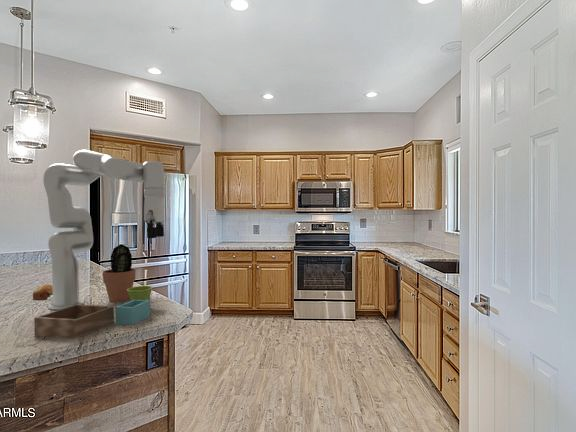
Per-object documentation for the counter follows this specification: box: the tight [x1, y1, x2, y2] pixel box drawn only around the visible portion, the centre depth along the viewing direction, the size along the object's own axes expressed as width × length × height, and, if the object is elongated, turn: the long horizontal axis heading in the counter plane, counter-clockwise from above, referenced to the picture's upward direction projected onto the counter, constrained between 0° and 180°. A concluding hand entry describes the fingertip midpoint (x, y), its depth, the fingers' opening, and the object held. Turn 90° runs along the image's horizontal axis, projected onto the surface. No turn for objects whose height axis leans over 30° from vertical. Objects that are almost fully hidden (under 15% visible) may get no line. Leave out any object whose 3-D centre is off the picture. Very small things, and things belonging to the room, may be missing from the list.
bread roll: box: [32, 283, 53, 301], centre depth 162 cm, size 10×10×8 cm
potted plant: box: [102, 243, 137, 303], centre depth 155 cm, size 14×14×25 cm
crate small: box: [115, 299, 151, 326], centre depth 124 cm, size 7×10×6 cm, turn 167°
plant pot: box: [127, 285, 153, 301], centre depth 137 cm, size 9×9×9 cm
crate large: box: [33, 304, 115, 339], centre depth 115 cm, size 16×16×6 cm
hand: (155, 237), depth 133 cm, fingers open, 9 cm apart
